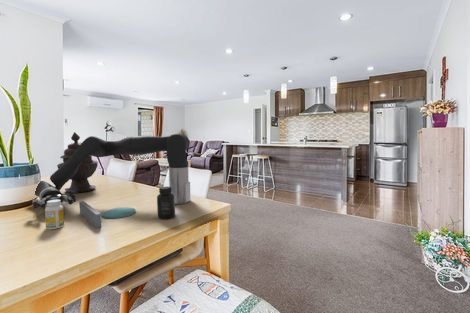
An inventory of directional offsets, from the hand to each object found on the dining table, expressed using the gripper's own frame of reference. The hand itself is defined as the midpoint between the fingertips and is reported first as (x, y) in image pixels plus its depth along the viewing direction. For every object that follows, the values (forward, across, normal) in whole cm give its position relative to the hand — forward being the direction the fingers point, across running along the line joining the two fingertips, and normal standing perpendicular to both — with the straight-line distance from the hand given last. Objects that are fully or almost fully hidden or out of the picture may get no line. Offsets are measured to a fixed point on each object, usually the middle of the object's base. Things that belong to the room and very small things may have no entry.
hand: (57, 204), depth 98 cm
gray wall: (+10, +8, +6) cm, 14 cm away
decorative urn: (-51, +18, +6) cm, 54 cm away
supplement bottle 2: (+28, +32, +6) cm, 42 cm away
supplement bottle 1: (+10, -2, +6) cm, 12 cm away
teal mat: (+10, +20, +6) cm, 23 cm away
